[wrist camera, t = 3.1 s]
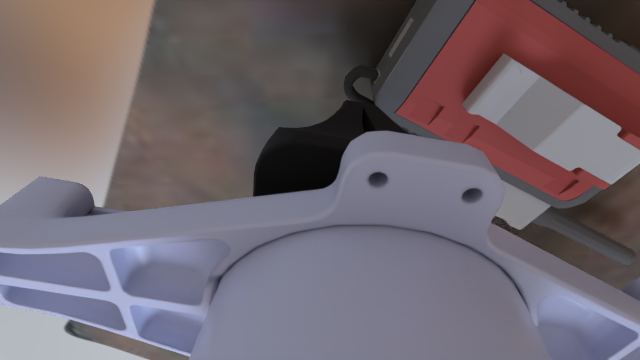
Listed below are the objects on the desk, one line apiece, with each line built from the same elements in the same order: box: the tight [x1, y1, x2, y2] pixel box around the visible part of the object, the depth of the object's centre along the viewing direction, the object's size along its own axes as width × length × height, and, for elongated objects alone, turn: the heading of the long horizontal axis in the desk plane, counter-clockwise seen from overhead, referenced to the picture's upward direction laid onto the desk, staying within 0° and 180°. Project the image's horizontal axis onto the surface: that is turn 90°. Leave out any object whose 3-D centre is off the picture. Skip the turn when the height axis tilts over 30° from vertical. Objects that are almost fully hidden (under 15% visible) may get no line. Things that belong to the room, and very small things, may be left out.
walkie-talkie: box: [344, 0, 640, 265], centre depth 14 cm, size 9×4×20 cm
